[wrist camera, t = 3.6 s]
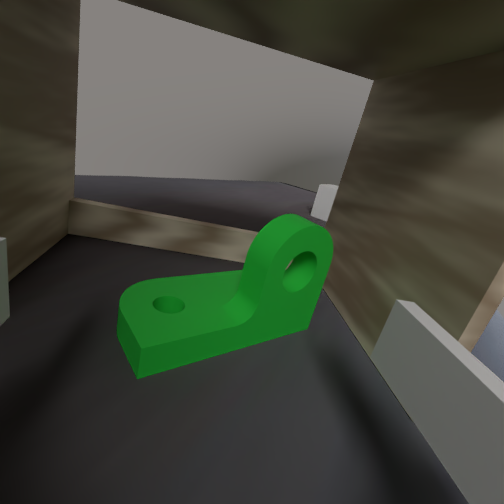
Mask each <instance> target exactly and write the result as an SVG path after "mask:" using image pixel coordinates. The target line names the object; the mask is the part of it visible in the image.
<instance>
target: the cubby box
mask: <svg viewBox="0 0 504 504" xmlns="http://www.w3.org/2000/svg"><path fill="white" fill-rule="evenodd" d="M119 1H122V2H125V3H128V4H131V5H135V6H138V7H141V8H144V9H148V10H151V11H154V12H157V13H160V14H163V15H166V16H170V17H173V18H176V19H179V20H183V21H186V22H189V23H192V24H195V25H199V26H202V27H205V28H208V29H211V30H214V31H218V32H221V33H224V34H228V35H231V36H234V37H237V38H240V39H243V40H247V41H250V42H253V43H256V44H259V45H262V46H266V47H269V48H272V49H275V50H278V51H281V52H285V53H288V54H291V55H294V56H298V57H301V58H304V59H307V60H310V61H313V62H317V63H320V64H323V65H327V66H330V67H333V68H336V69H339V70H342V71H345V72H348V73H352V74H355V75H358V76H361V77H365V78H368V79H371V80H374V82H373V85H372V88H371V91H370V94H369V97H368V100H367V103H366V106H365V109H364V112H363V115H362V118H361V121H360V124H359V127H358V130H357V133H356V136H355V139H354V142H353V145H352V148H351V151H350V154H349V157H348V160H347V163H346V166H345V169H344V172H343V175H342V178H341V181H340V184H339V187H338V190H337V193H336V196H335V199H334V202H333V205H332V208H331V211H330V214H329V217H328V220H327V223H326V226H325V229H326V230H327V231H328V232H329V233H330V235H331V237H332V241H333V256H332V261H331V264H330V267H329V270H328V273H327V276H326V278H325V281H324V284H323V287H322V288H323V289H324V291H325V292H326V294H327V295H328V297H329V298H330V300H331V301H332V302H333V304H334V305H335V307H336V308H337V310H338V311H339V313H340V314H341V316H342V317H343V319H344V320H345V322H346V323H347V325H348V326H349V328H350V329H351V331H352V332H353V334H354V335H355V337H356V338H357V340H358V341H359V343H360V344H361V346H362V347H363V349H364V350H365V352H366V353H367V355H368V356H369V358H370V356H371V354H372V352H373V349H374V347H375V345H376V343H377V341H378V338H379V336H380V334H381V332H382V330H383V328H384V325H385V323H386V321H387V319H388V317H389V314H390V312H391V310H392V308H393V306H394V304H395V301H396V299H397V300H403V301H410V302H414V303H415V304H417V305H418V306H419V307H420V308H421V309H422V310H423V311H424V312H425V313H427V314H428V315H429V316H430V317H431V318H432V319H433V320H434V321H436V322H437V323H438V324H439V325H440V326H441V327H442V328H443V329H445V330H446V331H447V332H448V333H449V334H450V335H451V336H452V337H453V338H455V339H456V340H457V341H458V342H459V343H460V344H461V345H462V346H464V347H465V348H466V349H467V350H468V351H469V352H470V353H471V351H472V349H473V348H474V346H475V344H476V343H477V341H478V339H479V338H480V336H481V334H482V333H483V331H484V329H485V328H486V326H487V324H488V323H489V321H490V319H491V318H492V316H493V314H494V313H495V311H496V309H497V307H498V306H499V304H500V303H501V301H502V299H503V297H504V0H119ZM79 26H80V0H0V237H3V238H6V244H7V265H8V282H9V281H10V280H11V279H13V278H14V277H15V276H16V275H17V274H19V273H20V272H21V271H22V270H24V269H25V268H26V267H27V266H29V265H30V264H31V263H32V262H34V261H35V260H36V259H37V258H39V257H40V256H41V255H42V254H43V253H45V252H46V251H47V250H48V249H50V248H51V247H52V246H53V245H55V244H56V243H57V242H58V241H60V240H61V239H62V238H63V237H65V236H66V235H67V234H74V235H80V236H86V237H92V238H98V239H104V240H110V241H116V242H122V243H128V244H134V245H140V246H146V247H152V248H158V249H164V250H170V251H176V252H182V253H188V254H194V255H200V256H206V257H212V258H218V259H224V260H230V261H236V262H242V263H245V259H246V256H247V252H248V250H249V247H250V245H251V243H252V242H253V240H254V238H255V237H256V235H257V234H258V233H259V232H255V231H249V230H244V229H239V228H234V227H228V226H223V225H218V224H212V223H207V222H202V221H196V220H191V219H186V218H180V217H175V216H170V215H164V214H159V213H154V212H148V211H143V210H138V209H132V208H127V207H122V206H117V205H111V204H106V203H101V202H95V201H90V200H85V199H79V198H74V177H75V147H76V115H77V86H78V55H79ZM292 261H293V259H292ZM292 261H291V262H290V263H289V264H288V266H287V268H288V267H289V266H290V264H291V263H292ZM287 268H286V269H287ZM370 359H371V358H370ZM371 361H372V359H371ZM372 362H373V361H372ZM373 364H374V362H373ZM374 365H375V364H374ZM375 366H376V365H375ZM376 368H377V367H376ZM377 369H378V368H377ZM378 371H379V370H378ZM379 372H380V371H379ZM380 374H381V373H380ZM381 375H382V374H381ZM382 377H383V376H382ZM383 378H384V377H383ZM384 380H385V379H384ZM385 381H386V380H385ZM386 383H387V382H386ZM387 384H388V383H387ZM388 386H389V385H388ZM389 387H390V386H389ZM390 389H391V388H390ZM391 390H392V389H391ZM392 392H393V391H392ZM393 393H394V392H393ZM394 395H395V393H394ZM395 396H396V395H395ZM396 398H397V396H396ZM397 399H398V398H397ZM398 401H399V399H398ZM399 402H400V401H399ZM400 404H401V402H400ZM401 405H402V404H401ZM402 407H403V405H402ZM403 408H404V407H403ZM404 410H405V408H404ZM405 411H406V410H405ZM406 413H407V411H406ZM407 414H408V413H407ZM408 416H409V414H408ZM409 417H410V416H409ZM410 419H411V417H410ZM411 420H412V419H411ZM412 421H413V420H412Z"/></svg>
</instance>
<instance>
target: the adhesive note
mask: <svg viewBox="0 0 504 504" xmlns="http://www.w3.org/2000/svg"><path fill="white" fill-rule="evenodd" d="M338 187H339V186H336V185H332V184H320V186H319V189H318V192H317V196H316V199H315V202H314V205H313V208H312V212H311V216H313V217H316V218H319V219H321V220H324V221H327V220H328V217H329V214H330V211H331V208H332V205H333V202H334V199H335V196H336V193H337V190H338Z"/></svg>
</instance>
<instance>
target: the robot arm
mask: <svg viewBox="0 0 504 504" xmlns="http://www.w3.org/2000/svg"><path fill="white" fill-rule="evenodd" d="M9 317H10V307H9V286H8V265H7V244H6V238H3V237H0V326H1V325H2V324H3V323H4V322H5V321H6V320H7V319H8V318H9ZM370 358H371V359H372V361H373V362H374V364H375V365H376V367H377V368H378V370H379V371H380V373H381V374H382V376H383V377H384V379H385V380H386V382H387V383H388V385H389V386H390V388H391V389H392V391H393V392H394V393H395V395H396V396H397V398H398V399H399V401H400V402H401V404H402V405H403V407H404V408H405V410H406V411H407V413H408V414H409V416H410V417H411V419H412V420H413V422H414V423H415V425H416V426H417V428H418V429H419V431H420V432H421V433H422V435H423V436H424V438H425V439H426V441H427V442H428V444H429V445H430V447H431V448H432V450H433V451H434V453H435V454H436V456H437V457H438V459H439V460H440V462H441V463H442V465H443V466H444V468H445V469H446V471H447V472H448V473H449V475H450V476H451V478H452V479H453V481H454V482H455V484H456V485H457V487H458V488H459V490H460V491H461V493H462V494H463V496H464V497H465V499H466V500H467V502H468V503H469V504H504V382H503V381H502V380H500V379H499V378H498V377H497V376H496V375H495V374H494V373H493V372H492V371H490V370H489V369H488V368H487V367H486V366H485V365H484V364H483V363H481V362H480V361H479V360H478V359H477V358H476V357H475V356H474V355H472V354H471V353H470V352H469V351H468V350H467V349H466V348H465V347H464V346H462V345H461V344H460V343H459V342H458V341H457V340H456V339H455V338H453V337H452V336H451V335H450V334H449V333H448V332H447V331H446V330H445V329H443V328H442V327H441V326H440V325H439V324H438V323H437V322H436V321H434V320H433V319H432V318H431V317H430V316H429V315H428V314H427V313H425V312H424V311H423V310H422V309H421V308H420V307H419V306H418V305H417V304H415V303H414V302H410V301H403V300H397V299H396V301H395V304H394V306H393V308H392V310H391V312H390V314H389V317H388V319H387V321H386V323H385V325H384V328H383V330H382V332H381V334H380V336H379V338H378V341H377V343H376V345H375V347H374V349H373V352H372V354H371V356H370Z"/></svg>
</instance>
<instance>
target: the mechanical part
mask: <svg viewBox="0 0 504 504" xmlns="http://www.w3.org/2000/svg"><path fill="white" fill-rule="evenodd" d="M332 256H333V241H332V237H331V235H330V233H329V232H328V231H327V230H326V229H325V228H323V227H321V226H319V225H317V224H315V223H313V222H311V221H309V220H307V219H305V218H303V217H301V216H299V215H296V214H285V215H282V216H279V217H277V218H275V219H273V220H272V221H270V222H269V223H268V224H267V225H265V226H264V227H263V228H262V229H261V230H260V232H259V233H258V234H257V235H256V237H255V238H254V240H253V242H252V243H251V245H250V247H249V250H248V252H247V256H246V259H245V263H244V267H243V270H237V271H227V272H217V273H207V274H197V275H187V276H177V277H167V278H157V279H150V280H145V281H141V282H138V283H136V284H134V285H132V286H130V287H129V288H127V289H126V290H125V291H124V292H123V294H122V295H121V297H120V301H119V310H118V320H117V337H118V340H119V342H120V344H121V346H122V348H123V350H124V352H125V355H126V357H127V359H128V361H129V363H130V365H131V367H132V369H133V371H134V374H135V376H136V378H137V379H139V378H143V377H146V376H150V375H153V374H156V373H160V372H163V371H166V370H170V369H173V368H177V367H180V366H183V365H187V364H190V363H194V362H197V361H200V360H204V359H207V358H210V357H214V356H217V355H221V354H224V353H227V352H231V351H234V350H237V349H241V348H244V347H248V346H251V345H254V344H258V343H261V342H265V341H268V340H271V339H275V338H278V337H281V336H285V335H288V334H292V333H295V332H298V331H302V330H305V329H308V326H309V323H310V320H311V317H312V315H313V312H314V309H315V306H316V304H317V301H318V298H319V295H320V292H321V290H322V287H323V284H324V281H325V278H326V276H327V273H328V270H329V267H330V264H331V261H332ZM292 259H293V261H292ZM291 261H292V263H291V264H290V266H289V267H288V268H287V266H288V264H289V263H290V262H291ZM286 268H287V269H286Z"/></svg>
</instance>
